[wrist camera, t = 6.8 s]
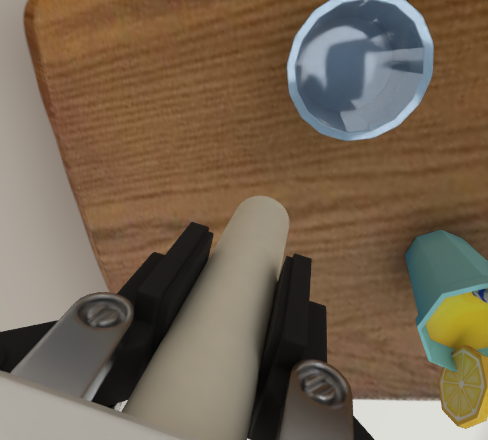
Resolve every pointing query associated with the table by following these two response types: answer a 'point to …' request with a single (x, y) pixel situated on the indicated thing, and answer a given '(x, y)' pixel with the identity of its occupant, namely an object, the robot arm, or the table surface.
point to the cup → (453, 320)
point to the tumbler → (360, 67)
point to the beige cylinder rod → (218, 333)
